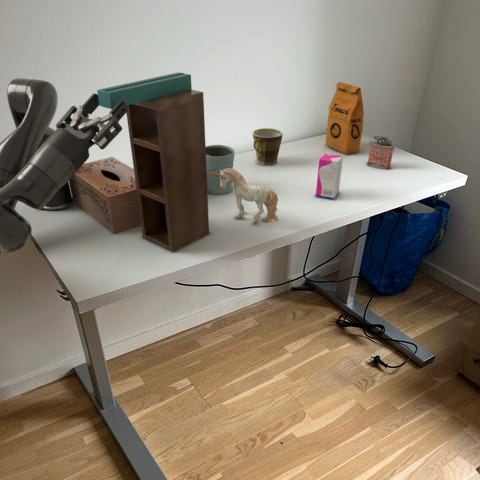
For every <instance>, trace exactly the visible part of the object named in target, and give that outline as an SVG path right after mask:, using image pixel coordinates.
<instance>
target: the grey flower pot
mask: <svg viewBox="0 0 480 480" xmlns="http://www.w3.org/2000/svg"><path fill="white" fill-rule="evenodd" d="M235 153H236V152H235V149H234V148H233V147H231V146H228V145H223V144H211V145H206V170H207V172H210V173H217V174H220V173H221V172H220V170H222V171H223V170H224V169H228V168H229V169H230V168H233V167H234V162H235V161H234V160H235ZM233 169H234V168H233ZM220 180H221V179H220V177H218V176H215V175H211V174H207V194H210V195H215V196H218V195H219V196H221V195H226V194H228V193H230V192H232V190H233V183H232V182H231V180H230V181H229V182H227V184H226V187H225V188H224V189H222V188H221V187H220Z"/></svg>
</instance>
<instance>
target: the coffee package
mask: <svg viewBox="0 0 480 480" xmlns="http://www.w3.org/2000/svg"><path fill="white" fill-rule="evenodd" d="M335 87H336V90H335V92H334V94H333V97H332V99H331V101H330V104H329V106H328V116H327V125H326V134H325V143H324V145H325V146H326V147H329V148H331V149H334V150H335V151H337V152H339V153H342V154H343V155H347V156H348V155H351V154H355V153H359V152H360V147H361V141H362V137H363V136H362V135H363V129H364V102H363V95H362V88H361V87H358V86H355V85H352V84H349V83H345V82H341V81H338V82H337V83H336V85H335Z"/></svg>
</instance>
